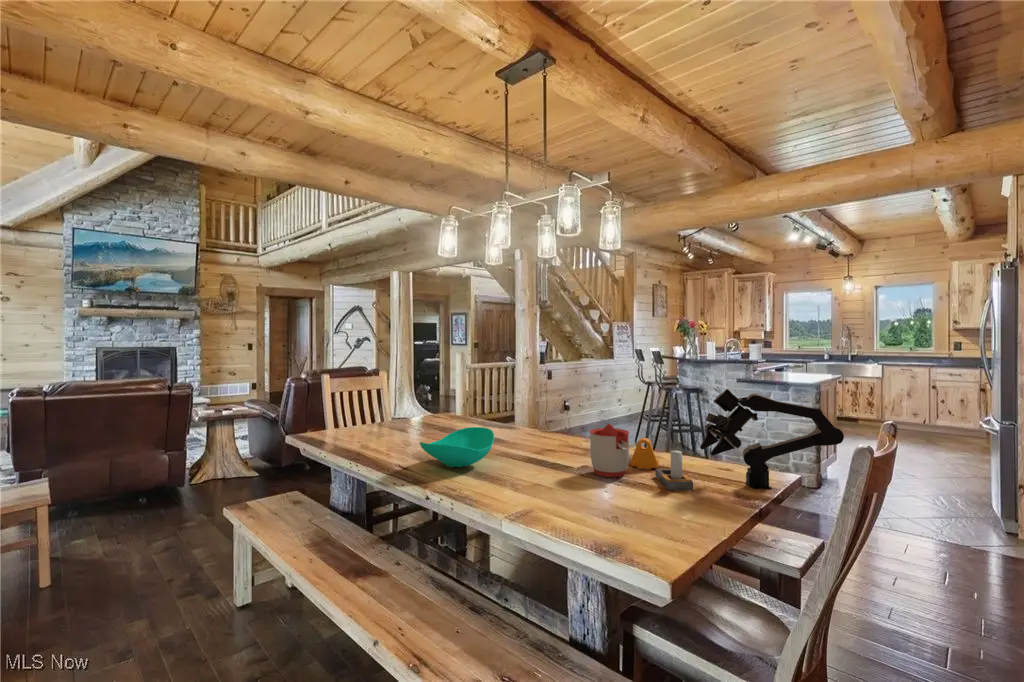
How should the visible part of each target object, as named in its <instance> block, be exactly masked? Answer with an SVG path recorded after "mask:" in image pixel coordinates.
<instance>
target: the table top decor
mask: <svg viewBox="0 0 1024 682" xmlns="http://www.w3.org/2000/svg"><path fill="white" fill-rule="evenodd" d="M494 441H495V433H494V431H493V430H492V429H491V428H488V427H481V426H480V427H478V426H477V427H476V426H475V427H474V426H473V427H472V426H470V427H465V428H462V429H457V430H456V431H453V432H451V433H449V434H446V436H444V437H443V438H441V439H438V440H436V441H433V442H430V443H426V442H422V441H420V442H419V445H420V447H421V449H422V450H423V451H424V452H426V453H427V454H428V455H429V456H431V457H433V458H434V459H436V460H437V461H439V462H440V463H442V464H444V465H445V466H447V467H448V466H449V467H448V468H452V467H462V468H464V467H463V466H466V467H468V466H471V465H474V464H476V463H478V462H480V461H481V460H482V459H484V458H485V457H486V456H487V455H488V454H489V453H490V451H491V449H492V447H493V444H494Z"/></svg>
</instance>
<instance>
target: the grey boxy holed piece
mask: <svg viewBox="0 0 1024 682" xmlns="http://www.w3.org/2000/svg"><path fill="white" fill-rule="evenodd" d="M654 470H655V471H654V472H655V476H656V477H657V478H658V479H659V480H660V481H659V480H658V479H657V478H656V479H657V480H658V481H659V482H660V483H661V484H662V485H663V487H664V486H665V487H666V488H667V489H666V488H665V487H664V488H665V489H666V490H667V491H686V490H693V491H694V481H693V480H692V478H690V477H689V476H688V475H687V474H685V473H684V472H682V479H671V468H655V469H654ZM655 476H654V477H655Z"/></svg>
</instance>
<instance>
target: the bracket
mask: <svg viewBox="0 0 1024 682" xmlns="http://www.w3.org/2000/svg"><path fill="white" fill-rule="evenodd" d="M643 443H644V444H645V445H646V446H647V447H644V446H642V444H643ZM659 465H660V459H658V458H657V456H656V453H655V452H654V449H653V445H652V442H651V439H649V438H647V437H641V438H640V439H639V440H638V442H637V444H636V447H635V448H634V452H633V454H632V457H631V459H630V466H631V467H636V468H637V469H640V468H647V469H646V470H652V469H654V468H655V469H659Z"/></svg>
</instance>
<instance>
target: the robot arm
mask: <svg viewBox="0 0 1024 682" xmlns="http://www.w3.org/2000/svg"><path fill="white" fill-rule="evenodd" d="M713 402H714V404H716V405H717V406H718V407H719V408H721V409H722V410H723V411H724V412H725V413H726V412H729V413H731V414H730V415H728V416H725V415H723V414H720V413H718V414H717V415H716V414H715V413H711V412H708V413H707V416H706V418H705V422H708V423H706V424H705V426H704V431H705V437H704V439H703V441H702V442H701V444H700V447H699V448H700V449H701V450H702V451H703V450H704V449H707V448H709V447H710V446H712V445H714V444H715V443H717V444H716V445H715V446H714V447H713V449H711V451H710V455H711V457H713V456H716V455H719V454H722V453H724V452H727V451H731V450H735V449H739V448H740V447H741V446H742V440H741V439H740V438H739V437H738V436H737V435H736V434H737V433H738V432H742V431H743V430H744V429H743V427H744V426H745V425H746V424H747V423H748V422H749V421H750V420H752V421H753V422H758V421H759V419H758V413H755V412H766V413H767V412H775V413H776V412H777V413H781V414H787V415H790V416H791V415H792V416H796V417H802V418H807V419H811V420H812V421H813V423H814V424H815V426H816V427H817V428H816V429H814V430H813V431H812V432H810V433H808V434H805V435H801V436H797V437H793V438H790V439H786V440H784V441H780V442H776V443H773V444H769V445H761V442H756V443H754V444H750V445H749V444H747V447H745V448H744V449H743V450H742V459H743V461H744V463H745V464H746V465H747V466H748V467H747V468H746V469H747V472H745V485H747V486H748V485H749V486H748V487H750V488H751V489H754V490H755V489H756V490H761V489H762V490H763V489H764V490H771V489H773V488H772V486H770V468H769V466H768V463H767V462H768V461H769V460H772V459H773V458H776V457H780V456H783V455H787V454H790V453H793V452H798V451H801V450H804V449H809V448H812V447H817V446H818V447H825V446H828V447H829V446H836V445H840V444H841V443H843V441H844V439H845V434H844V433H843V431H842V430H841V429H840V428H838V427H837V426H835V425H833V424H832V422H831V421H830V420H829V419H828V418H827V417H826V416H825V414H824V413H823V411H822V410H821V409H820V408H818V407H816V406H806V405H803V404H802V405H801V404H796V403H790V402H785V401H781V400H775V399H773V398H769V397H768V396H764V395H762V394H759V393H751V394H749V395H748V396H746V397H745V396H744V397H739V398H738V397H737V396H736V395H735V394H734V393H732V391H731V390H730V389H728V388H726V389H725V390H724V391H722V392H721V393H719V394H718V395H717V396H716V397H715V398H714V399H713ZM753 411H754V412H753Z"/></svg>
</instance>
